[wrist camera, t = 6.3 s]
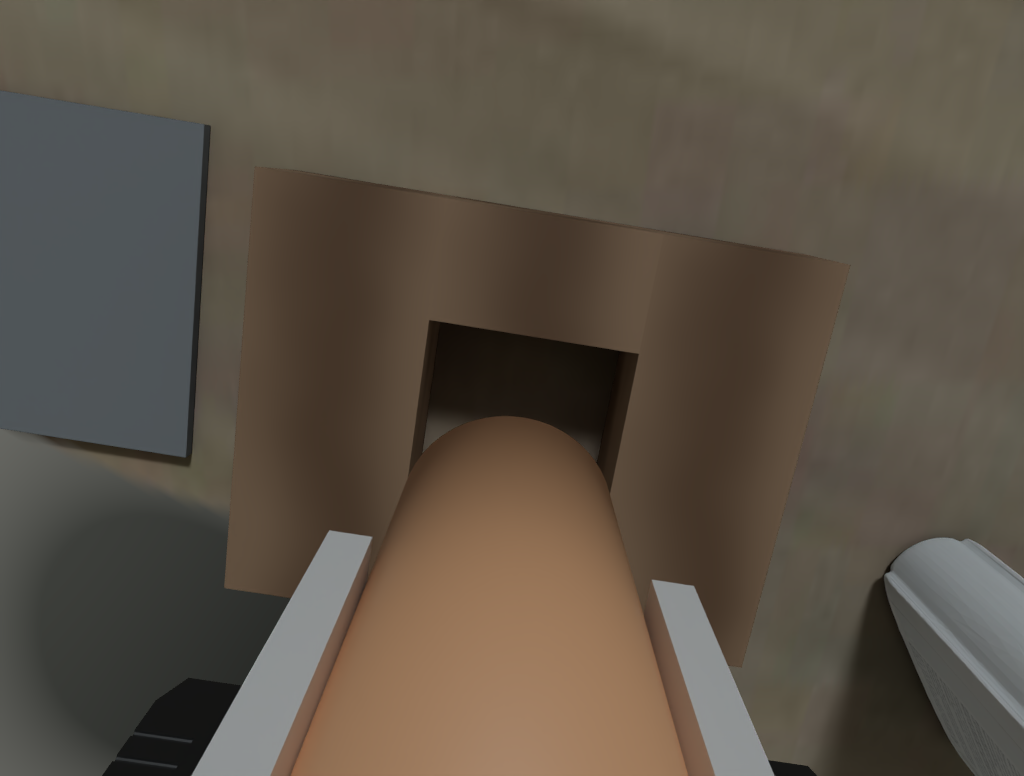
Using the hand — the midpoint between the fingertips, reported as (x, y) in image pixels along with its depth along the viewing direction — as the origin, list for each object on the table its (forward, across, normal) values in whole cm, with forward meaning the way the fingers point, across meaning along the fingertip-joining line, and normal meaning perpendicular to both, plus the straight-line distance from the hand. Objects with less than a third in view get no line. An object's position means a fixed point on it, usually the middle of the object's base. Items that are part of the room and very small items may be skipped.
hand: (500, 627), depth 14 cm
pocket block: (+15, 0, 0) cm, 15 cm away
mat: (+15, -18, +2) cm, 24 cm away
